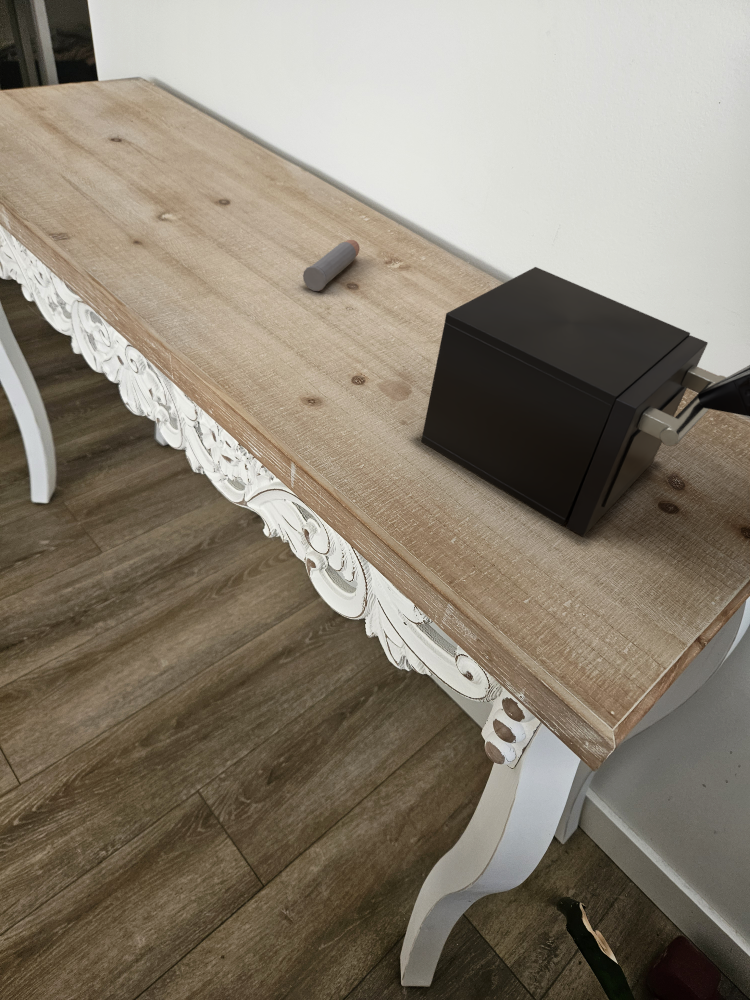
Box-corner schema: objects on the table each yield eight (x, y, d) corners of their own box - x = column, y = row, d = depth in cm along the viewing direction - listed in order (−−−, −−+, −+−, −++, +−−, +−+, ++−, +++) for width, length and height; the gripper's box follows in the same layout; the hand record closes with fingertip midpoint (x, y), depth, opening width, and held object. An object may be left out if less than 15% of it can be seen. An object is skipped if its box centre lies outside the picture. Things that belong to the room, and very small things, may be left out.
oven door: (684, 479, 64) (747, 357, 56) (618, 557, 56) (680, 428, 47) (636, 454, 66) (689, 334, 58) (565, 527, 58) (615, 398, 50)
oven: (633, 454, 67) (690, 332, 58) (562, 526, 58) (616, 396, 49) (502, 385, 73) (535, 266, 64) (420, 441, 64) (446, 312, 56)
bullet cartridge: (324, 294, 83) (326, 270, 81) (301, 287, 84) (303, 263, 82) (362, 261, 91) (365, 238, 89) (341, 254, 92) (343, 232, 90)
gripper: (946, 166, 45) (706, 266, 57) (886, 235, 34) (603, 342, 46) (996, 326, 47) (755, 390, 59) (956, 442, 36) (667, 492, 48)
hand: (701, 399), depth 53 cm, fingers closed, pressing on oven door
